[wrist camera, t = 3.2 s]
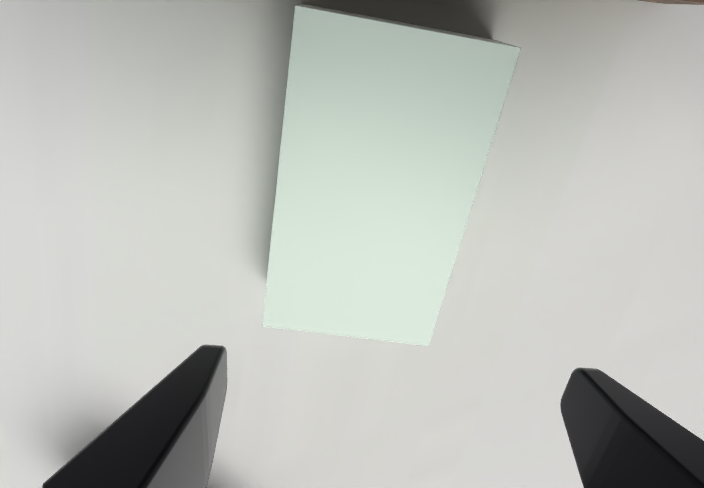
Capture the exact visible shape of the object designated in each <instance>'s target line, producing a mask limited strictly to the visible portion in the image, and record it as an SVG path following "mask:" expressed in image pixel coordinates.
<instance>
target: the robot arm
mask: <svg viewBox="0 0 704 488" xmlns="http://www.w3.org/2000/svg"><path fill="white" fill-rule="evenodd" d="M226 390H227V351H226V348H225V347H224V346H218V345H203V346H201V347H199V348H198V349H197V350H196V351H195V352H193V353H192V354H191V355H190V356H189V357H188V358H187V359H185V360H184V361H183V362H182V363H181V364H180V365H179V366H177V367H176V368H175V369H174V370H173V371H172V372H171V373H169V374H168V375H167V376H166V377H165V378H164V379H163V380H161V381H160V382H159V383H158V384H157V385H156V386H155V387H153V388H152V389H151V390H150V391H149V392H148V393H147V394H145V395H144V396H143V397H142V398H141V399H140V400H138V401H137V402H136V403H135V404H134V405H133V406H132V407H130V408H129V409H128V410H127V411H126V412H125V413H124V414H122V415H121V416H120V417H119V418H118V419H117V420H116V421H114V422H113V423H112V424H111V425H110V426H109V427H108V428H106V429H105V430H104V431H103V432H102V433H101V434H100V435H98V436H97V437H96V438H95V439H94V440H93V441H92V442H90V443H89V444H88V445H87V446H86V447H85V448H83V449H82V450H81V451H80V452H79V453H78V454H77V455H75V456H74V457H73V458H72V459H71V460H70V461H69V462H67V463H66V464H65V465H64V466H63V467H62V468H61V469H59V470H58V471H57V472H56V473H55V474H54V475H53V476H51V477H50V478H49V479H48V480H47V481H46V482H45V483H44V484H43V486H42V487H43V488H206V486H207V482H208V479H209V475H210V471H211V467H212V462H213V457H214V452H215V447H216V442H217V437H218V432H219V427H220V422H221V416H222V411H223V406H224V401H225V396H226ZM561 413H562V417H563V420H564V423H565V427H566V430H567V433H568V437H569V440H570V444H571V447H572V450H573V454H574V457H575V460H576V464H577V467H578V471H579V474H580V477H581V480H582V483H583V486H584V488H704V441H703V440H702V439H700V438H699V437H697V436H696V435H694V434H693V433H691V432H690V431H688V430H687V429H685V428H684V427H683V426H681V425H680V424H678V423H677V422H675V421H674V420H672V419H671V418H669V417H668V416H666V415H665V414H664V413H662V412H661V411H659V410H658V409H656V408H655V407H653V406H652V405H650V404H649V403H647V402H646V401H644V400H643V399H642V398H640V397H639V396H637V395H636V394H634V393H633V392H631V391H630V390H628V389H627V388H625V387H624V386H623V385H621V384H620V383H618V382H617V381H615V380H614V379H612V378H611V377H609V376H608V375H606V374H605V373H604V372H602V371H600V370H598V369H593V368H577V369H575V370H574V371H573V372H572V374H571V376H570V379H569V381H568V384H567V386H566V389H565V391H564V393H563V396H562V399H561Z"/></svg>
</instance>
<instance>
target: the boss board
mask: <svg viewBox="0 0 704 488" xmlns="http://www.w3.org/2000/svg"><path fill="white" fill-rule="evenodd" d="M640 1H648V2H657V3H665V4H697V5H704V0H640Z"/></svg>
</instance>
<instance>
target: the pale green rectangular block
mask: <svg viewBox="0 0 704 488" xmlns="http://www.w3.org/2000/svg"><path fill="white" fill-rule="evenodd" d="M520 50H521V48H520V47H516V46H513V45H510V44H506V43H503V42H499V41H496V40H493V39H488V38H482V37H477V36H472V35H466V34H461V33H456V32H450V31H445V30H440V29H434V28H429V27H424V26H418V25H413V24H408V23H403V22H397V21H392V20H387V19H381V18H376V17H371V16H365V15H360V14H355V13H349V12H344V11H339V10H333V9H328V8H323V7H317V6H312V5H307V4H299V5H295V12H294V21H293V31H292V41H291V50H290V60H289V70H288V79H287V89H286V99H285V108H284V118H283V128H282V137H281V147H280V157H279V166H278V176H277V186H276V195H275V205H274V215H273V224H272V234H271V244H270V253H269V263H268V273H267V282H266V292H265V302H264V311H263V321H262V326H263V327H271V328H279V329H288V330H296V331H305V332H313V333H322V334H330V335H338V336H347V337H355V338H364V339H372V340H380V341H389V342H397V343H406V344H414V345H422V346H429V344H430V341H431V337H432V334H433V331H434V328H435V325H436V321H437V318H438V315H439V312H440V308H441V305H442V302H443V299H444V295H445V292H446V289H447V286H448V283H449V279H450V276H451V273H452V270H453V266H454V263H455V260H456V257H457V253H458V250H459V247H460V244H461V241H462V237H463V234H464V231H465V228H466V224H467V221H468V218H469V215H470V211H471V208H472V205H473V202H474V199H475V195H476V192H477V189H478V186H479V182H480V179H481V176H482V173H483V169H484V166H485V163H486V160H487V157H488V153H489V150H490V147H491V144H492V140H493V137H494V134H495V131H496V127H497V124H498V121H499V118H500V115H501V111H502V108H503V105H504V102H505V98H506V95H507V92H508V89H509V85H510V82H511V79H512V76H513V73H514V69H515V66H516V63H517V60H518V56H519V53H520Z"/></svg>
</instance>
